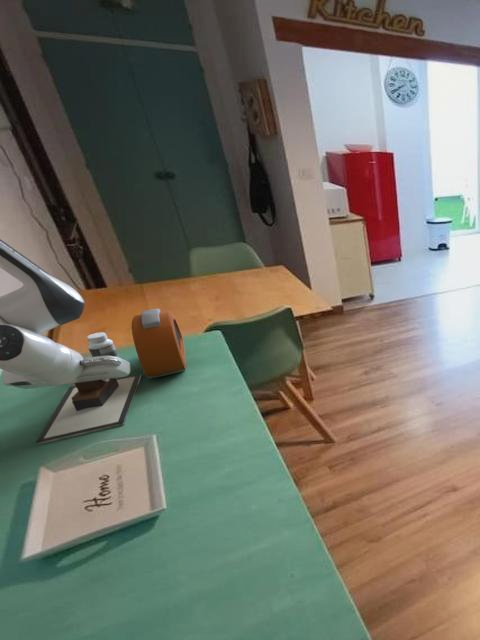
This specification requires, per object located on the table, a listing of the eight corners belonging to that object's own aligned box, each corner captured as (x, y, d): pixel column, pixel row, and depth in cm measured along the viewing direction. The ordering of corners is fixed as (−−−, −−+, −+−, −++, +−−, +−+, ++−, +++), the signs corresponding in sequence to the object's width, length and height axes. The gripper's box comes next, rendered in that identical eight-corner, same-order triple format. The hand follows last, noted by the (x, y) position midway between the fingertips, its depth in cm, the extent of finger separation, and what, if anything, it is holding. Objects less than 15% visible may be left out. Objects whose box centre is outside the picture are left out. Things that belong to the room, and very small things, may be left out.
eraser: (102, 405, 105) (87, 375, 101) (75, 409, 103) (59, 378, 99) (119, 385, 113) (106, 356, 109) (94, 389, 111) (80, 359, 107)
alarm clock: (188, 375, 120) (169, 322, 113) (148, 384, 115) (126, 329, 108) (185, 344, 137) (169, 296, 129) (150, 351, 132) (131, 302, 125)
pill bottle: (93, 366, 123) (79, 336, 118) (115, 358, 127) (102, 329, 123) (103, 370, 121) (89, 340, 116) (125, 362, 125) (112, 333, 121)
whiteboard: (36, 445, 92) (34, 443, 92) (70, 389, 112) (69, 387, 112) (124, 424, 99) (123, 422, 99) (141, 375, 119) (140, 373, 119)
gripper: (113, 345, 99) (143, 362, 111) (-4, 358, 92) (42, 375, 104) (112, 371, 97) (142, 385, 109) (-7, 386, 90) (40, 399, 102)
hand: (93, 380), depth 107 cm, fingers closed on eraser, 4 cm apart
